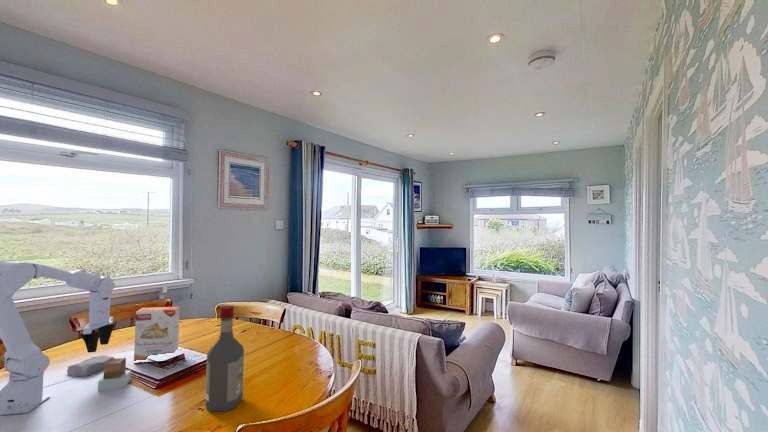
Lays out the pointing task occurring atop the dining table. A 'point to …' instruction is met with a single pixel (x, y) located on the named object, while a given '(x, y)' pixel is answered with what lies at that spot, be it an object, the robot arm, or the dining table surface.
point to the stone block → (88, 366)
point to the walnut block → (114, 368)
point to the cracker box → (156, 331)
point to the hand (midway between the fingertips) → (98, 348)
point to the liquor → (224, 368)
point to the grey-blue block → (114, 382)
